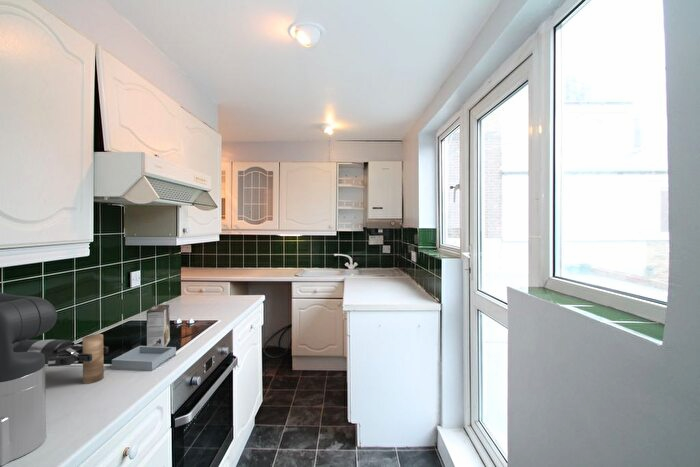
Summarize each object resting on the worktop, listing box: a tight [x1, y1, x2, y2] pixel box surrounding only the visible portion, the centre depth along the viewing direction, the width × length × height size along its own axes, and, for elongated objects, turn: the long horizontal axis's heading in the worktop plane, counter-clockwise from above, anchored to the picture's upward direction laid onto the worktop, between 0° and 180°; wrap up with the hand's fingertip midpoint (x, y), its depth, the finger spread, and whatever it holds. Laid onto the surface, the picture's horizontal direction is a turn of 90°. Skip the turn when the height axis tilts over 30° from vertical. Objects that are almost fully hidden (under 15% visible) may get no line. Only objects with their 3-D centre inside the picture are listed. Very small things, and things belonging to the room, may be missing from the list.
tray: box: [111, 345, 177, 372], centre depth 105 cm, size 12×15×3 cm
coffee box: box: [146, 304, 171, 347], centre depth 119 cm, size 9×6×16 cm
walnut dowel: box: [82, 333, 105, 385], centre depth 93 cm, size 5×5×14 cm
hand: (99, 353), depth 92 cm, fingers closed on walnut dowel, 5 cm apart
